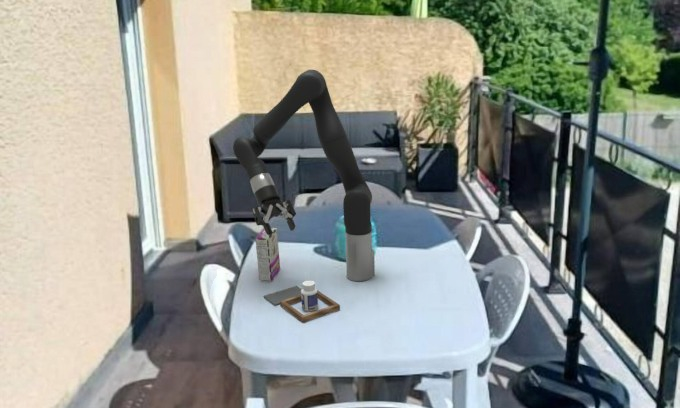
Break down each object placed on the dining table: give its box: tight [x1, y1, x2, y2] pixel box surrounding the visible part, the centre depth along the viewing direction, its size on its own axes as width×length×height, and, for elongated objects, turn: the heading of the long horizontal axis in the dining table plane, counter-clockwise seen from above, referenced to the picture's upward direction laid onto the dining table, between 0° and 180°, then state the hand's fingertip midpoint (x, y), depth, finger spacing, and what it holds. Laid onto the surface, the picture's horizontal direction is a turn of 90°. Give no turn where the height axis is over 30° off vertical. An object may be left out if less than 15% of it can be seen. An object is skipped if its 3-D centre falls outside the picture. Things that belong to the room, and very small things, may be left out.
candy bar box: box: [255, 227, 281, 282], centre depth 232 cm, size 11×5×16 cm, turn 168°
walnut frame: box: [280, 289, 341, 324], centre depth 208 cm, size 14×14×2 cm
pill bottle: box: [300, 280, 319, 312], centre depth 207 cm, size 5×5×9 cm
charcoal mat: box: [262, 285, 303, 307], centre depth 217 cm, size 13×8×1 cm, turn 124°
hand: (282, 232), depth 213 cm, fingers open, 8 cm apart
